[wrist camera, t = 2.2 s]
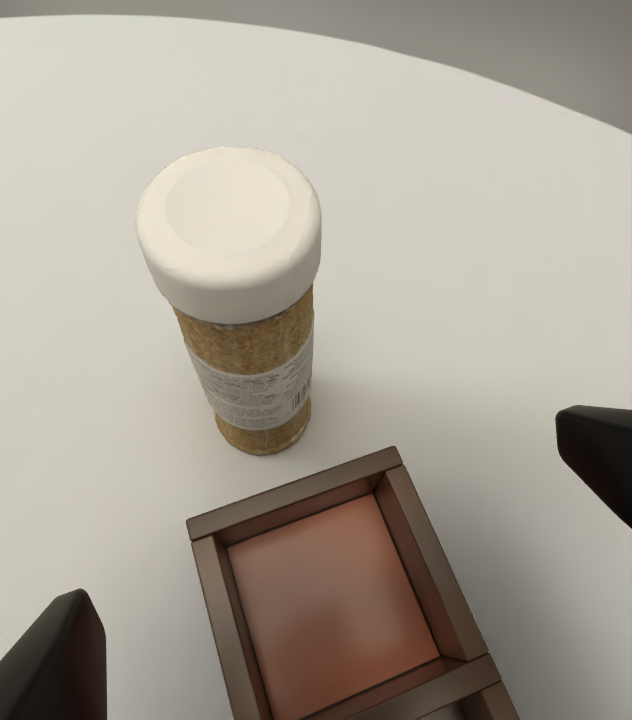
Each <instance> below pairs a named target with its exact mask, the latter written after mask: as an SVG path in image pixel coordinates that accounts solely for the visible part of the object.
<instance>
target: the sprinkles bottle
mask: <svg viewBox="0 0 632 720" xmlns="http://www.w3.org/2000/svg"><path fill="white" fill-rule="evenodd" d="M136 231H137V237H138V241H139V244H140V247H141V250H142V252H143V255H144V258H145V260H146V263H147V265H148V268H149V270H150V272H151V275H152V277H153V279H154V282H155V284H156V286H157V287H158V289H159V291H160V292H161V293H162V295H163V296H164V297H165V298H166V299H167V300H168V301H169V303H170V304H171V306H172V307H173V310H174V312H175V315H176V316H177V318H178V322H179V325H180V327H181V331H182V334H183V336H184V342H185V346H186V348H187V351H188V353H189V356H190V358H191V360H192V363H193V365H194V368H195V370H196V373H197V375H198V377H199V380H200V382H201V384H202V387H203V389H204V392H205V394H206V397H207V399H208V401H209V403H210V405H211V407H212V408H213V409H214V412H215V419H216V423H217V425H218V428H219V430H220V432H221V433H222V434H223V436H224V437H225V439H226V440H227V441H228V442H229V444H231V445H233V446H235V447H236V448H238V449H239V450H241V451H244V452H247V453H250V454H257V455H267V454H272V453H276V452H279V451H281V450H284V449H286V448H287V447H289V446H290V445H292V444H293V443H294V442H296V441H297V440H298V439H299V438H300V436H301V434H302V433H303V432H304V430H305V428H306V425H307V423H308V422H309V419H310V411H311V401H310V397H309V393H310V389H311V377H312V358H313V333H314V310H313V281H314V278H315V276H316V274H317V271H318V268H319V264H320V257H321V208H320V203H319V199H318V196H317V194H316V192H315V190H314V188H313V186H312V184H311V183H310V181H309V180H308V179H307V178H306V176H305V175H304V174H303V173H302V172H301V171H300V170H299V169H298V168H297V167H295V166H294V165H293V164H291V163H290V162H288V161H287V160H285V159H283V158H281V157H279V156H277V155H275V154H272V153H269V152H266V151H263V150H259V149H255V148H249V147H236V146H235V147H229V146H227V147H216V148H210V149H205V150H202V151H198V152H195V153H192V154H190V155H187V156H185V157H183V158H181V159H179V160H177V161H175V162H173V163H172V164H170V165H169V166H167V167H166V168H165V169H163V170H162V171H161V172H160V173H159V174H158V175H157V176H156V177H155V178H154V179H153V180H152V181H151V182H150V184H149V185H148V186H147V188H146V190H145V191H144V193H143V195H142V197H141V199H140V202H139V204H138V208H137V213H136Z"/></svg>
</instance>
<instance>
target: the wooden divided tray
mask: <svg viewBox="0 0 632 720" xmlns="http://www.w3.org/2000/svg"><path fill="white" fill-rule="evenodd" d="M186 525H187V529H188V533H189V537H190V540H191V541H192V543H191V546H192V550H193V554H194V558H195V562H196V566H197V571H198V575H199V579H200V583H201V587H202V591H203V595H204V599H205V603H206V607H207V611H208V615H209V620H210V624H211V628H212V632H213V636H214V640H215V644H216V648H217V652H218V656H219V660H220V664H221V668H222V673H223V677H224V681H225V685H226V689H227V693H228V697H229V701H230V705H231V709H232V713H233V717H234V720H520V718H519V716H518V714H517V712H516V710H515V707H514V705H513V703H512V701H511V699H510V696H509V694H508V692H507V690H506V688H505V685H504V683H503V682H502V681H501V676H500V674H499V672H498V670H497V667H496V665H495V663H494V661H493V659H492V656H491V654H490V653H488V652H489V651H488V648H487V646H486V644H485V641H484V639H483V637H482V635H481V632H480V630H479V628H478V626H477V624H476V621H475V619H474V617H473V615H472V613H471V610H470V608H469V606H468V604H467V602H466V599H465V597H464V595H463V593H462V591H461V588H460V586H459V584H458V582H457V580H456V577H455V575H454V573H453V571H452V569H451V566H450V564H449V562H448V560H447V558H446V555H445V553H444V551H443V549H442V547H441V544H440V542H439V540H438V538H437V536H436V533H435V531H434V529H433V527H432V525H431V522H430V520H429V518H428V516H427V514H426V511H425V509H424V507H423V505H422V503H421V500H420V498H419V496H418V494H417V492H416V489H415V487H414V485H413V483H412V481H411V478H410V476H409V474H408V472H407V470H406V467H405V466H404V465H403V461H402V459H401V457H400V454H399V452H398V450H397V448H396V446H391V447H388V448H385V449H382V450H379V451H377V452H374V453H371V454H368V455H365V456H363V457H360V458H357V459H354V460H351V461H349V462H346V463H343V464H340V465H337V466H335V467H332V468H329V469H326V470H323V471H321V472H318V473H315V474H312V475H310V476H307V477H304V478H301V479H298V480H296V481H293V482H290V483H287V484H284V485H282V486H279V487H276V488H273V489H270V490H268V491H265V492H262V493H259V494H256V495H254V496H251V497H248V498H245V499H242V500H240V501H237V502H234V503H231V504H228V505H226V506H223V507H220V508H217V509H214V510H212V511H209V512H206V513H203V514H200V515H198V516H195V517H192V518H189V519H187V520H186Z"/></svg>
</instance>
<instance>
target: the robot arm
mask: <svg viewBox="0 0 632 720" xmlns="http://www.w3.org/2000/svg"><path fill="white" fill-rule="evenodd" d="M555 421H556V433H557V446H558V451H559V454H560V456H561V458H562V459H563V461H564V462H565V463H566V464H567V465H568V466H569V467H570V468H571V469H572V470H573V471H574V472H575V473H576V474H577V475H578V476H579V477H580V478H581V479H582V480H583V481H584V483H585V484H586V485H587V486H588V487H589V488H590V489H591V490H592V491H593V492H594V493H595V494H596V495H597V496H598V497H599V498H600V499H601V500H602V501H603V502H604V503H605V504H606V505H607V506H608V507H609V508H610V509H611V510H612V511H613V512H614V513H615V514H616V515H617V516H618V517H619V518H620V519H621V520H622V521H624V522H625V523H626V524H627V525H628V526H629V527H630V528H631V529H632V410H626V409H615V408H604V407H593V406H583V405H575V406H572V407H569V408H566V409H564V410H561V411H559V412H558V413H557V415H556V419H555ZM0 720H107V673H106V635H105V630H104V627H103V624H102V622H101V620H100V618H99V616H98V614H97V612H96V610H95V608H94V606H93V603H92V601H91V599H90V597H89V595H88V594H87V592H86V591H85V590H83V589H77V590H74V591H71V592H68V593H66V594H63V595H60V596H58V597H56V598H55V599H54V600H53V601H52V602H51V604H50V605H49V606H48V607H47V608H46V609H45V610H44V612H43V613H42V614H41V615H40V616H39V617H38V618H37V620H36V621H35V622H34V623H33V624H32V625H31V626H30V628H29V629H28V630H27V631H26V632H25V633H24V634H23V636H22V637H21V638H20V639H19V640H18V641H17V642H16V644H15V645H14V646H13V647H12V648H11V649H10V650H9V652H8V653H7V654H6V655H5V656H4V657H3V658H2V660H1V661H0Z"/></svg>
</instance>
